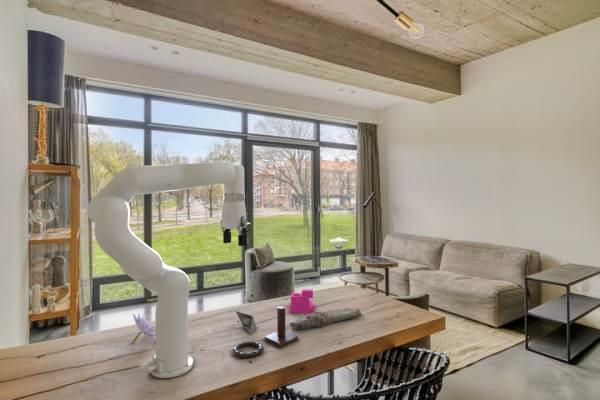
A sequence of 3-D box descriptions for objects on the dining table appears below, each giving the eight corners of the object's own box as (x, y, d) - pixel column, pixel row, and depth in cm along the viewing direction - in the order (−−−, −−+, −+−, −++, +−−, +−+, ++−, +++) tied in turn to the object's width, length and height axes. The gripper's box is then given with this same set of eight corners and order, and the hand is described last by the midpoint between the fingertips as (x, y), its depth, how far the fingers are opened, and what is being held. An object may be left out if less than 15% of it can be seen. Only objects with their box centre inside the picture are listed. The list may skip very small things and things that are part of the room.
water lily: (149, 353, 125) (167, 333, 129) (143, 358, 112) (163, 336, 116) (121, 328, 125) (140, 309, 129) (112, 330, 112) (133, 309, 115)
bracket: (313, 313, 149) (312, 291, 148) (290, 313, 149) (290, 291, 149) (312, 304, 161) (312, 283, 160) (291, 304, 161) (291, 283, 161)
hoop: (244, 362, 105) (244, 357, 105) (227, 351, 112) (227, 347, 112) (268, 351, 112) (268, 346, 112) (251, 342, 119) (251, 338, 119)
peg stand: (280, 348, 114) (280, 313, 114) (264, 340, 121) (264, 307, 120) (298, 340, 121) (298, 307, 121) (282, 333, 127) (281, 301, 127)
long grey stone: (366, 320, 142) (352, 314, 151) (366, 308, 142) (352, 303, 151) (296, 332, 126) (285, 325, 134) (297, 319, 126) (286, 312, 135)
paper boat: (265, 326, 131) (250, 327, 124) (256, 338, 132) (241, 340, 124) (249, 305, 138) (234, 305, 131) (241, 316, 139) (226, 317, 131)
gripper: (212, 198, 122) (213, 243, 122) (239, 198, 110) (239, 248, 110) (229, 198, 127) (230, 241, 127) (256, 198, 115) (257, 245, 115)
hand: (234, 244), depth 118 cm, fingers open, 9 cm apart
